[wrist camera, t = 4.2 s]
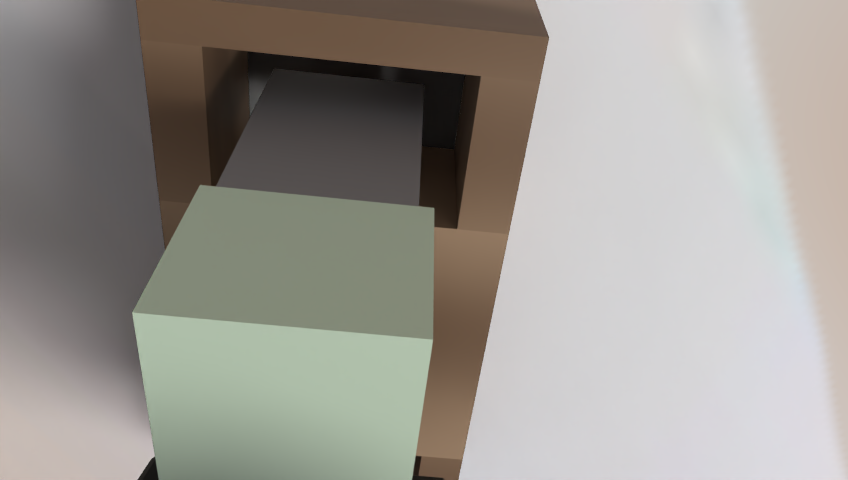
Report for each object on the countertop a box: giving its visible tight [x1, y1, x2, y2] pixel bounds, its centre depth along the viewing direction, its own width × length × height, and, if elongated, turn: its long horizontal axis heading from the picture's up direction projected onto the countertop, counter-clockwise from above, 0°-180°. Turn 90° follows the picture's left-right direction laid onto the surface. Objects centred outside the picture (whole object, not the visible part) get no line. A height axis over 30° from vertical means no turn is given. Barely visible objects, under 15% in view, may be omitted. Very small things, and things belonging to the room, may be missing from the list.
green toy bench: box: [132, 69, 434, 480], centre depth 13 cm, size 10×3×6 cm, turn 174°
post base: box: [136, 0, 549, 480], centre depth 15 cm, size 13×6×3 cm, turn 174°
